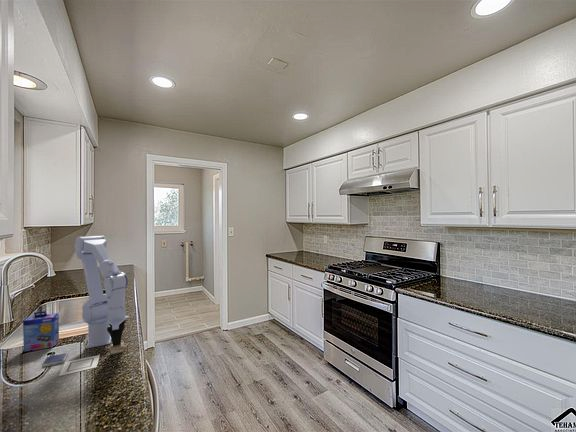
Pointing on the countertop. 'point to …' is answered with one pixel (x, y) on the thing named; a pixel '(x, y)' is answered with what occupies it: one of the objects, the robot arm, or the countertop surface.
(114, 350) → the stamp
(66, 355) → the ink pad
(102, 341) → the robot arm
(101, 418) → the countertop surface
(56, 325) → the ink cartridge box
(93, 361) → the paper
